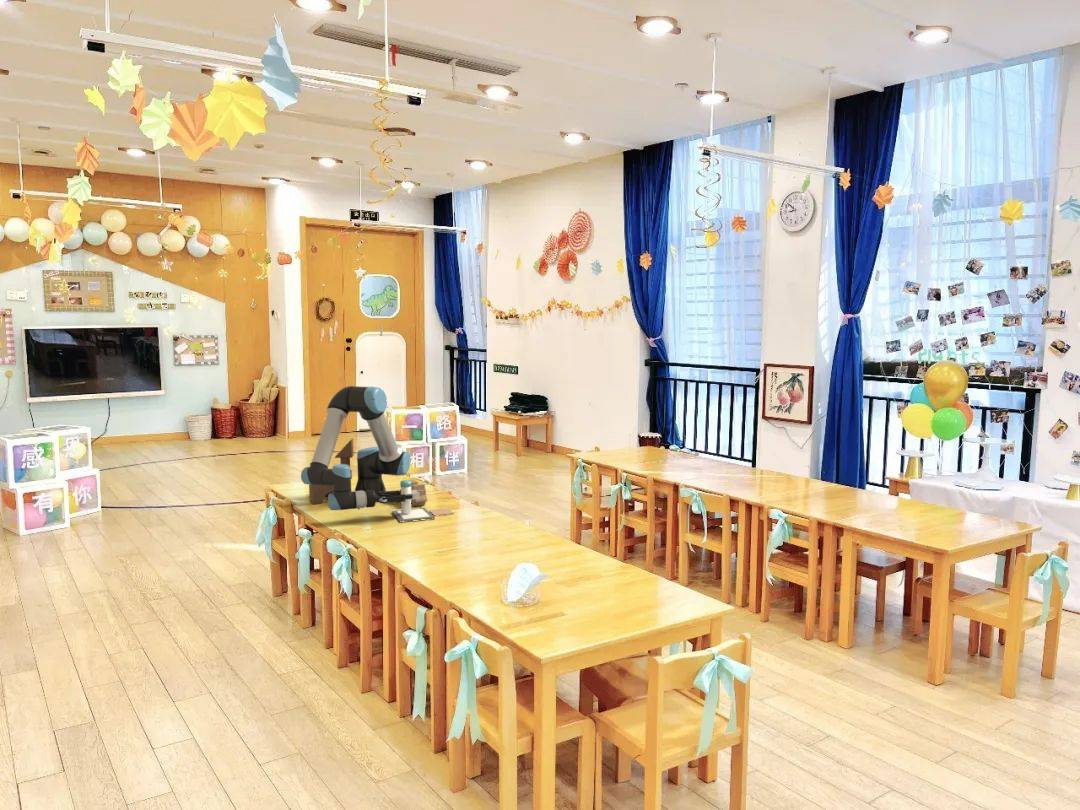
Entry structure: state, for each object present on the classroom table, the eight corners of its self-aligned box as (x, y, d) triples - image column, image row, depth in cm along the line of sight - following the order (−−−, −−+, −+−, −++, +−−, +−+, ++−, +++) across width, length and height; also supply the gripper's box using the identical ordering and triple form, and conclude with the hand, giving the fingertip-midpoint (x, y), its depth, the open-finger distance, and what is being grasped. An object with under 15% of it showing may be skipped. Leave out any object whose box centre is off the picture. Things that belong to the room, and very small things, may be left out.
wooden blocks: (347, 490, 402) (345, 435, 398) (362, 498, 386) (360, 441, 382) (299, 496, 388) (297, 440, 385) (312, 505, 372) (310, 446, 368)
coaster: (429, 511, 360) (429, 510, 360) (448, 509, 364) (448, 508, 364) (434, 516, 352) (434, 515, 352) (453, 514, 356) (453, 513, 355)
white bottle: (400, 511, 354) (399, 480, 352) (410, 510, 356) (409, 480, 354) (402, 514, 350) (401, 483, 348) (412, 513, 352) (412, 482, 350)
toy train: (416, 508, 367) (415, 486, 366) (402, 500, 381) (401, 480, 380) (427, 506, 370) (426, 485, 368) (413, 498, 384) (412, 478, 383)
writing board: (392, 512, 358) (392, 510, 358) (424, 509, 364) (424, 507, 364) (400, 522, 342) (400, 520, 342) (434, 519, 348) (434, 517, 347)
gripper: (362, 502, 354) (413, 498, 363) (368, 512, 338) (422, 507, 347) (361, 486, 353) (413, 482, 362) (368, 495, 337) (422, 490, 346)
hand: (417, 494), depth 354 cm, fingers closed on white bottle, 4 cm apart
